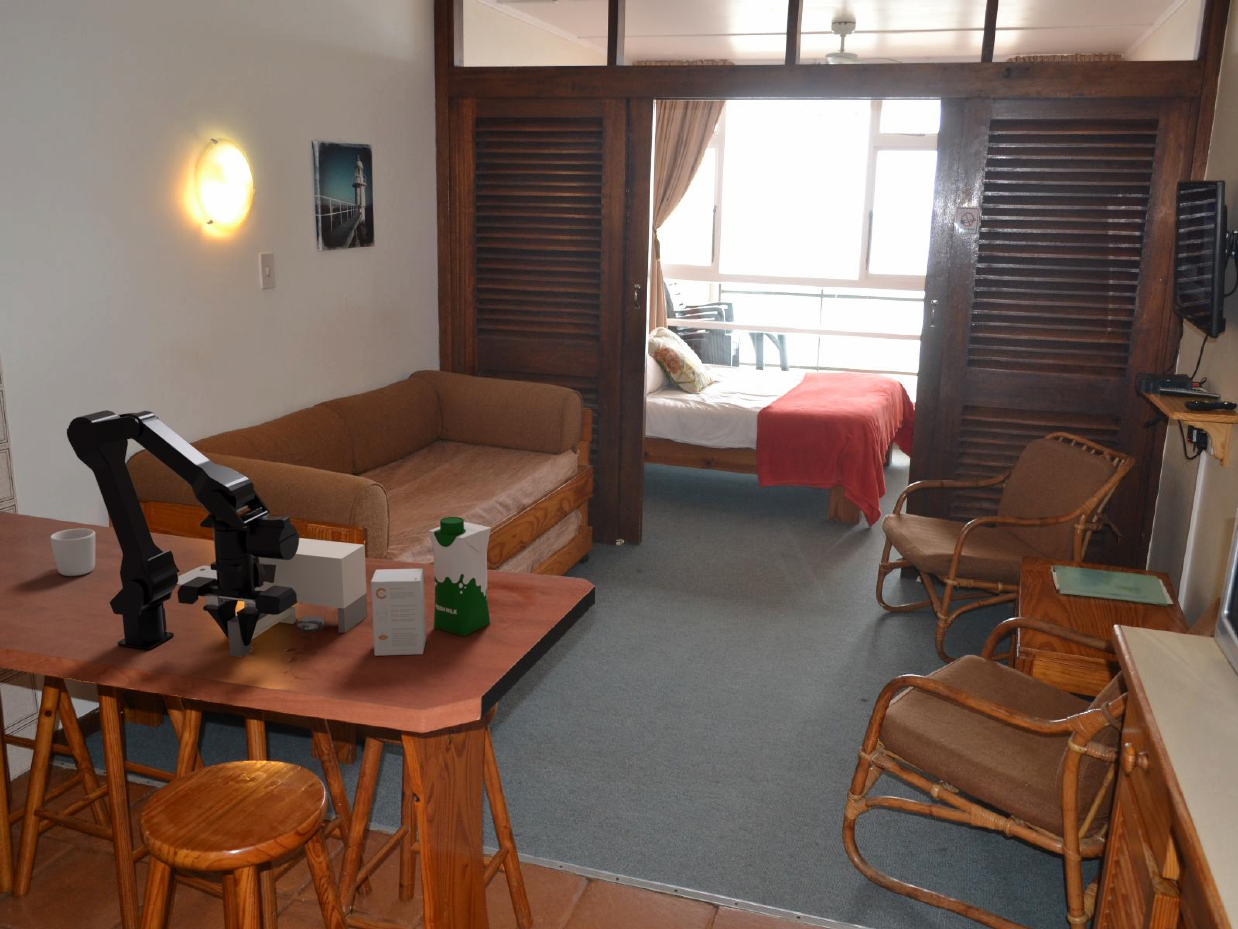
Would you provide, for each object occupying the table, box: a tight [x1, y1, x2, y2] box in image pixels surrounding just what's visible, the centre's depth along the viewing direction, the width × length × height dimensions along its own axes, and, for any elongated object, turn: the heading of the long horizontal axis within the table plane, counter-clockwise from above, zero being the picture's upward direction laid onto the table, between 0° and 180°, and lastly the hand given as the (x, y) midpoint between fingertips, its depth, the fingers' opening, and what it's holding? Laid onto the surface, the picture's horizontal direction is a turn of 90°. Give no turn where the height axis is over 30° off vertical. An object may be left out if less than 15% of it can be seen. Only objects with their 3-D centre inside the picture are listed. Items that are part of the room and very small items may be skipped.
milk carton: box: [428, 516, 492, 637], centre depth 185 cm, size 9×9×20 cm
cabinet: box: [255, 537, 369, 634], centre depth 188 cm, size 8×18×14 cm, turn 75°
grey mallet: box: [227, 606, 297, 658], centre depth 180 cm, size 16×2×6 cm, turn 165°
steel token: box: [296, 615, 325, 634], centre depth 186 cm, size 4×4×2 cm
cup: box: [49, 528, 96, 577], centre depth 212 cm, size 11×8×8 cm
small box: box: [370, 568, 427, 657], centre depth 176 cm, size 8×6×13 cm
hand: (240, 644), depth 174 cm, fingers closed on grey mallet, 2 cm apart
